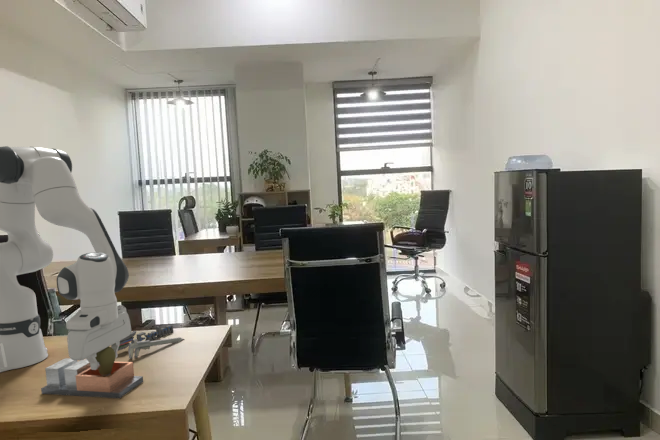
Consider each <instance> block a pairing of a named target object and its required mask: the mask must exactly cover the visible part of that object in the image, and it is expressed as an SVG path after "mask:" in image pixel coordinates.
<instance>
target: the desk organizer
mask: <svg viewBox="0 0 660 440" xmlns="http://www.w3.org/2000/svg"><path fill="white" fill-rule="evenodd" d="M44 370H45V378H46V385H45V386H43V387H40V390H41V395H42V394H43V395H54V396H56V395H57V396H58V395H59V396H74V397H90V398H104V399H105V398H109V399H121V398H122V397H124V396H125V395H127V394H128V393H130V392H131V391H132V390H134V389H136V388H137V387H138V386H140V385H141V384H142V383H144V376H142V375H141V376H140V375H135V368H134V361H116V360H115V361H114V364H113V367H112V371H111V374H110V375H109V376H101V374H100V373H99V370H98V369H96V370H92V369H91V366H90V363H89V362H88V360H87V359H84V360H72V359H71V358H70V357H68V358H67V357H65V358H63V359H61V360H59V361H57V362H55V363H53V364H50V365H49V366H47V367H45V368H44Z"/></svg>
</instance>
